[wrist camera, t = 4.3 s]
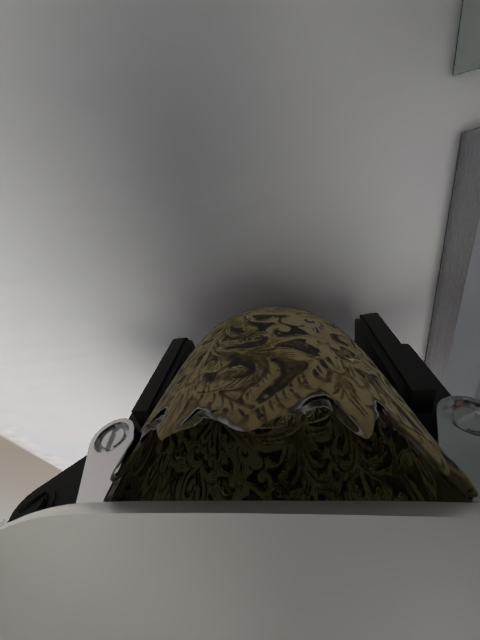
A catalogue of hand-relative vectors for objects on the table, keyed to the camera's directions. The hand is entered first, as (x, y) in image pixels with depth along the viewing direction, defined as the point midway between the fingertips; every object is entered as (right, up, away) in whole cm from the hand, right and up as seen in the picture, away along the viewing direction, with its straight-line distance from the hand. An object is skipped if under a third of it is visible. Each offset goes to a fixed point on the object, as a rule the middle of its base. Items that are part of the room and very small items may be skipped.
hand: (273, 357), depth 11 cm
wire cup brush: (0, +1, +2) cm, 2 cm away
